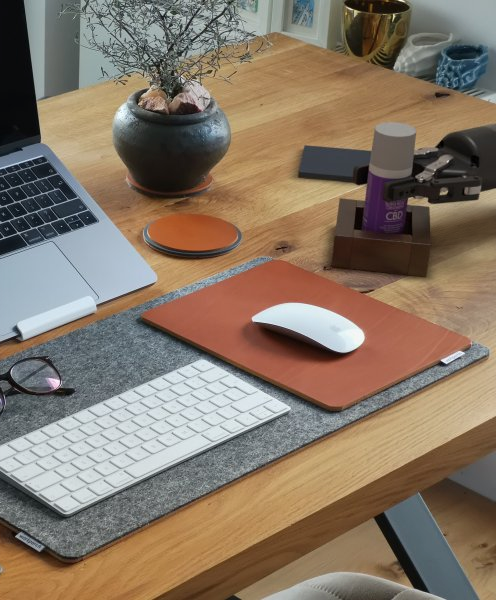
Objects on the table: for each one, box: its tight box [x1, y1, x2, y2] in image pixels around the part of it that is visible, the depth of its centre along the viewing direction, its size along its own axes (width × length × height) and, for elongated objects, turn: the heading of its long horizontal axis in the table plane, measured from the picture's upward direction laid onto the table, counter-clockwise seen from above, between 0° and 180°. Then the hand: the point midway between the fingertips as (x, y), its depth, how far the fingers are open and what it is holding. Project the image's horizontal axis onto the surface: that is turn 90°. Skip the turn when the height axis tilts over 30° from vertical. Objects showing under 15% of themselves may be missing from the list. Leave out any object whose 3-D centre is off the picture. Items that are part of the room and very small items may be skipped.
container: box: [362, 121, 417, 234], centre depth 125 cm, size 5×5×15 cm
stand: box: [330, 197, 432, 278], centre depth 128 cm, size 10×10×4 cm
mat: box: [297, 144, 372, 183], centre depth 151 cm, size 10×10×1 cm
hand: (370, 184), depth 124 cm, fingers closed on container, 4 cm apart
